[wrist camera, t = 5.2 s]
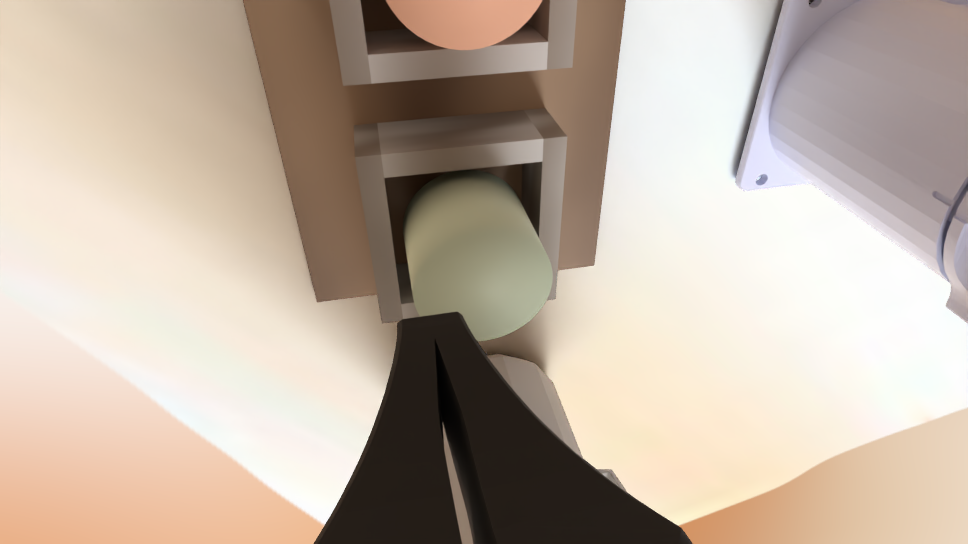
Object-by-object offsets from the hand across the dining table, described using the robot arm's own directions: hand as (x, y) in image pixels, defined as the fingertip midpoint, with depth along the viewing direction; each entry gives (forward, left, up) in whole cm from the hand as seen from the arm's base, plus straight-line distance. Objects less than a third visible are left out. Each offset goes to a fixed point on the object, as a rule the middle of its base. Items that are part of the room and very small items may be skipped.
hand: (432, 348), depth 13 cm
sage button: (-2, +2, -8) cm, 9 cm away
